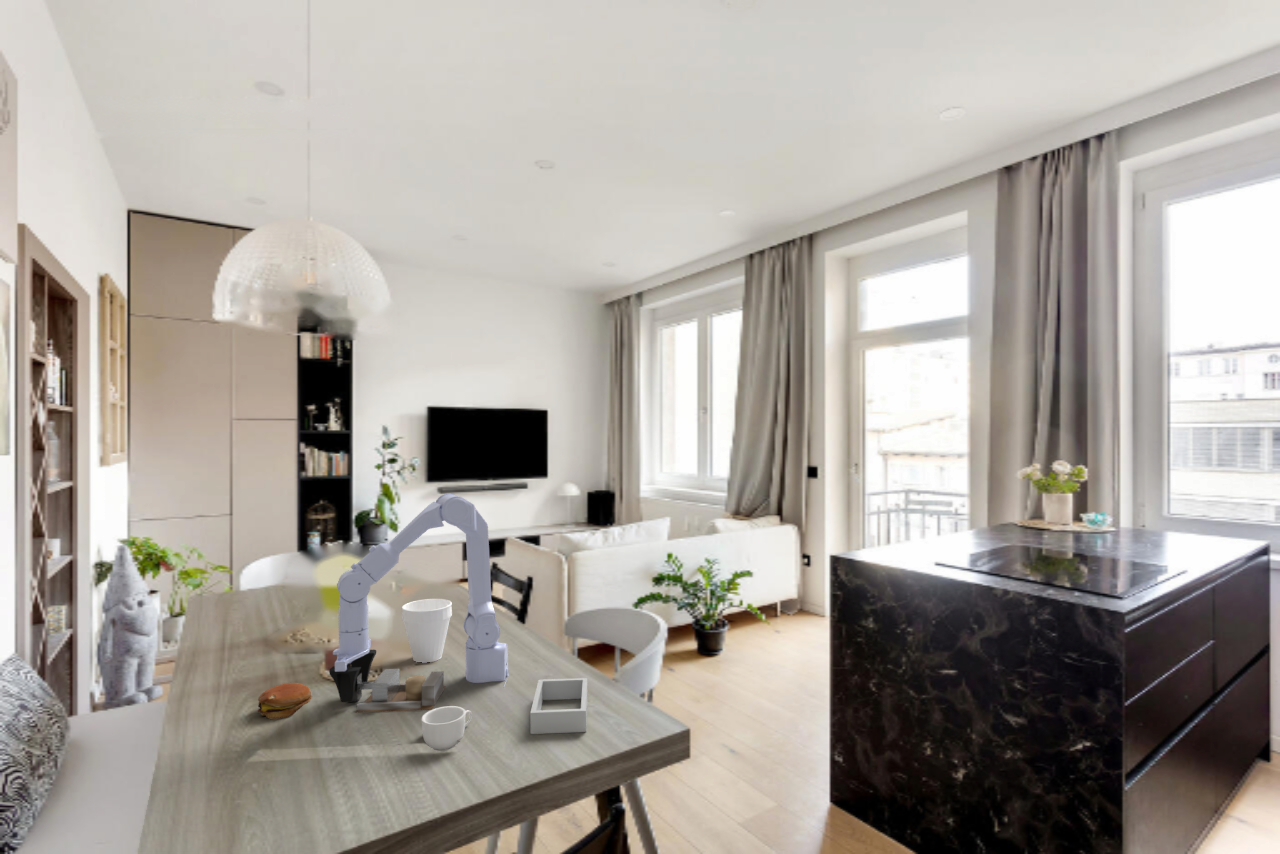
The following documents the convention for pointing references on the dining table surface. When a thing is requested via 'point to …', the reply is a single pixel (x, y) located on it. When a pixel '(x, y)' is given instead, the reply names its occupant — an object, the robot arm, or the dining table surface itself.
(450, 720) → the teacup
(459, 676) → the dining table surface
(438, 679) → the bench
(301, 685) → the burger
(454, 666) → the dining table surface
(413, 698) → the nut
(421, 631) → the white plant pot
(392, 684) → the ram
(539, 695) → the box
